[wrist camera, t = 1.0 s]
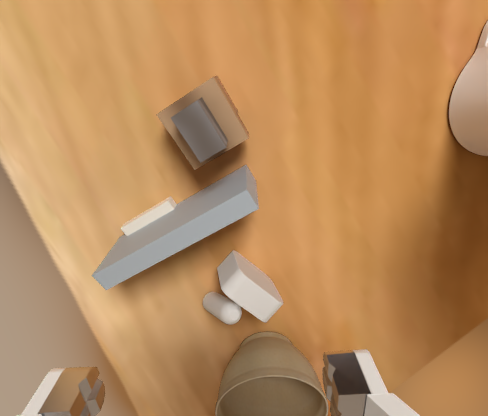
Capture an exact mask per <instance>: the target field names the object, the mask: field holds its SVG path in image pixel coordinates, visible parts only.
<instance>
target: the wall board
mask: <svg viewBox="0 0 488 416" xmlns="http://www.w3.org/2000/svg"><path fill="white" fill-rule="evenodd" d="M257 209H259V205H258V196H257V187H256V180H255V178H254V177H253V175H252V173H251V172H250V170H249V168H248V167H247V165H244V166H243V167H241V168H239V169H237V170H236V171H234V172H232V173H230V174H229V175H227V176H225V177H224V178H222V179H220V180H218V181H217V182H215V183H213V184H211V185H210V186H208V187H206V188H204V189H203V190H201V191H199V192H197V193H196V194H194V195H192V196H190V197H189V198H187V199H185V200H184V201H182V202H180V203H178V204H176V203H175V201H174V200H173V199H172V197H171V196H170V197H168V198H167V199H165V200H163V201H162V202H160V203H158V204H156V205H155V206H153V207H151V208H150V209H148V210H146V211H145V212H143V213H141V214H139V215H138V216H136V217H134V218H133V219H131V220H129V221H127V222H126V223H124V225H123V226H122V227H121V228H120V229H121V230H122V231H123V232H124V233H125V234H124V235H123V236H121V237H120V238H119V239H118V240H117V242H116V243H115V245H114V246H113V247H112V249H111V250H110V251H109V253H108V254H107V256H106V257H105V258H104V260H103V261H102V262H101V264H100V265H99V266H98V268H97V269H96V271H95V272H94V273H93V275H92V276H93V277H94V278H95V279H96V280H97V281H98V282H99V283H100V284H101V286H102V287H103V288H104V289H105V290H108V289H110V288H111V287H113V286H115V285H117V284H119V283H121V282H123V281H125V280H126V279H128V278H130V277H132V276H134V275H136V274H138V273H140V272H141V271H143V270H145V269H147V268H149V267H151V266H153V265H154V264H156V263H158V262H160V261H162V260H164V259H166V258H168V257H169V256H171V255H173V254H175V253H177V252H179V251H181V250H183V249H184V248H186V247H188V246H190V245H192V244H194V243H196V242H198V241H199V240H201V239H203V238H205V237H207V236H209V235H211V234H213V233H214V232H216V231H218V230H220V229H222V228H224V227H226V226H227V225H229V224H231V223H233V222H235V221H237V220H239V219H241V218H242V217H244V216H246V215H248V214H250V213H252V212H254V211H256V210H257Z"/></svg>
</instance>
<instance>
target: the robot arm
mask: <svg viewBox="0 0 488 416" xmlns="http://www.w3.org/2000/svg"><path fill="white" fill-rule="evenodd" d="M449 121H450V126H451V129H452V132H453V134H454V136H455V138H456V139H457V141H458V142H459V143H460V144H461V145H462V146H463V147H464V148H466V149H467V150H469V151H470V152H472V153H475V154H478V155H482V156H488V21H487V23H486V24H485V26H484V29H483V31H482V34H481V37H480V40H479V43H478V47H477V49H476V51H475V53H474V55H473V56H472V58H471V59H470V60H469V62H468V63H467V65H466V66H465V68H464V69H463V71H462V72H461V74H460V76H459V78H458V80H457V82H456V84H455V86H454V89H453V92H452V95H451V99H450V105H449ZM323 361H324V365H325V367H324V368H323V384H324V389H325V393H326V397H327V399H328V400H329V401H330V402H331V404H330V412H331V416H420V415H419V414H418V413H416V412H415V411H414V410H413V409H412V408H410V407H409V406H408V405H407V404H406V403H404V402H403V401H402V400H401V399H400V398H398V397H397V396H396V395H395V394H393V393H388V391H387V389H386V387H385V384H384V382H383V380H382V378H381V376H380V374H379V372H378V369H377V367H376V365H375V363H374V361H373V359H372V357H371V354H370V352H369V351H368V350H367V349H366V350H346V351H332V352H324V354H323ZM98 376H99V371H98V369H97V367H78V368H77V367H76V368H53V369H52V370H51V371H49V372H48V373H47V375H46V377H45V378H44V380H43V381H42V383H41V385H40V386H39V388H38V389H37V391H36V392H35V394H34V395H33V397H32V398H31V400H30V402H29V403H28V405H27V406H26V408H25V409H24V411H23V413H22V414H21V415H17V416H96V415H97V414H98V413H99V412H100V410H101V408H102V405H103V402H104V397H105V386H104V384H103V381H101V380H99V379H98Z"/></svg>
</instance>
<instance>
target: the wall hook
mask: <svg viewBox="0 0 488 416" xmlns="http://www.w3.org/2000/svg"><path fill="white" fill-rule="evenodd" d="M217 270H218V275H219V280H220V285H221V289H222V290H223V292H224V293H225V294H226V295H227V296H228V297H229V298H230V299H229V298H227V297H225V296H223V295H221V294H219V293H217V292H209V293H208V294H206V295H205V297H204V299H203V306H204V308H205V309H206V310H207V311H208V312H210V313H211V314H213V315H214V316H215V317H217V318H218V319H220V320H221V321H222V322H224V323H226V324H230V325H231V324H235V323H237V322H238V321H239V320H240V318H241V315H242V310H241V307H243V308H244V309H245V310H247V311H248V312H250V313H251V314H252V315H254V316H255V317H257V318H258V319H259V320H261V321H262V322H267V321H268V320H269V319H270V318H271V317H272V316H273V314H274V313H275V312H276V311H277V310H278V309H279V308H280V307H281V306H282V305H283V303H284V302H283V300H282V298H281V296H280V295H279V293H278V291H277V289H276V287H275V285H274V283H273V282H272V280H271V279H270V278H269V277H268V276H267V275H266V274H265V273H264V272H262V271H261V270H260V269H259V268H257V267H256V266H255V265H253V264H252V263H251V262H250V261H248V260H247V259H246V258H244V257H243V256H242V255H241V254H239V253H238V252H237V251H235V250H233V251H232V252H231V253H230V254H229V255H228V256H227V257H226V258H225V260H224V261H223V262H222V263H221V264H220V265H219V266H218V267H217ZM231 299H232V300H231Z"/></svg>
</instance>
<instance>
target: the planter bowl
mask: <svg viewBox="0 0 488 416" xmlns="http://www.w3.org/2000/svg"><path fill="white" fill-rule="evenodd" d="M327 415H328V403H327V399H326V397H325V394H324V392H323V390H322V388H321V385H320V382H319V379H318V377H317V375H316V373H315V371H314V369H313V367H312V366H311V364H310V363H309V361H308V360H307V359H306V357H305V356H304V355H303V354H302V353H301V352H300V351H299V350H298V349H297V348H296V347H294V346H293V345H292V343H291V342H290V340H289V339H288V338H286V337H285V336H283V335H281V334H279V333H275V332H260V333H256V334H253V335H251V336H249V337H248V338H246V339H245V340H244V341H243V342H242V344H241V346H240V348H239V350H238V351H237V352H236V353H235V355H234V356H233V357H232V359H231V360H230V362H229V364H228V366H227V368H226V370H225V372H224V374H223V377H222V380H221V384H220V389H219V395H218V399H217V403H216V409H215V416H327Z"/></svg>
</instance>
